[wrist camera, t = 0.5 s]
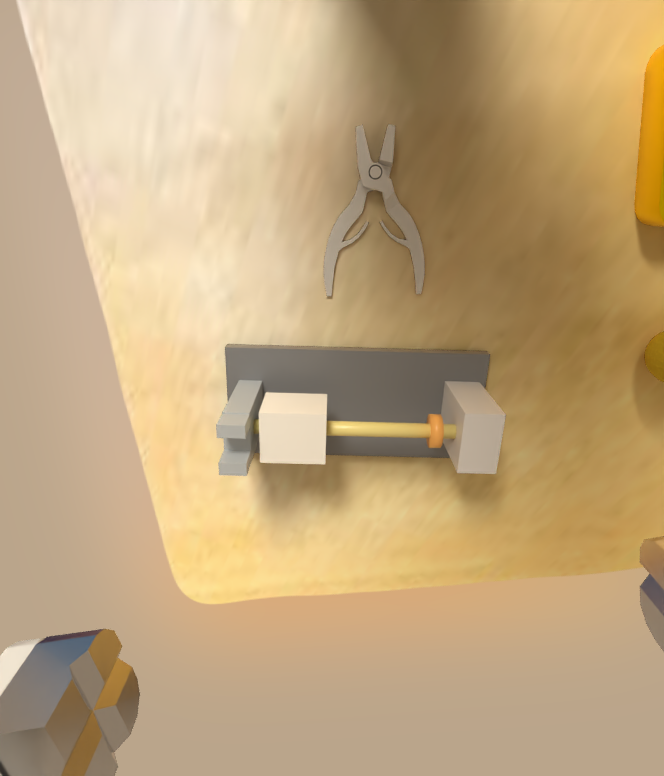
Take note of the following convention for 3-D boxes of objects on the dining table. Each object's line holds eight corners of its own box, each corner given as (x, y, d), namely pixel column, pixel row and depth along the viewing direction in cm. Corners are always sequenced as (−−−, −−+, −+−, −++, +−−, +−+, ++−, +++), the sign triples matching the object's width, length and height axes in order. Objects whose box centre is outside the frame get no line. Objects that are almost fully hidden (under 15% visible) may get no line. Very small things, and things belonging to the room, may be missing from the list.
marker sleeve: (265, 392, 48) (258, 413, 43) (327, 394, 48) (326, 414, 43) (266, 438, 50) (260, 462, 45) (325, 439, 50) (325, 464, 45)
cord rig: (227, 344, 51) (197, 384, 40) (486, 351, 51) (529, 393, 40) (232, 447, 55) (206, 509, 44) (471, 453, 56) (507, 517, 44)
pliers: (324, 298, 48) (319, 125, 43) (324, 295, 50) (319, 128, 44) (425, 295, 48) (432, 122, 43) (422, 292, 50) (429, 125, 44)
